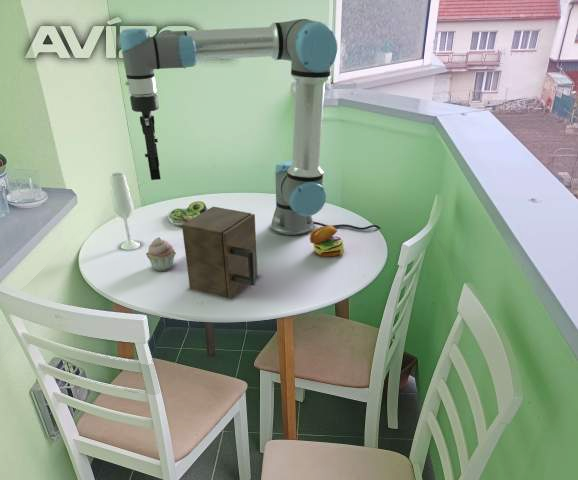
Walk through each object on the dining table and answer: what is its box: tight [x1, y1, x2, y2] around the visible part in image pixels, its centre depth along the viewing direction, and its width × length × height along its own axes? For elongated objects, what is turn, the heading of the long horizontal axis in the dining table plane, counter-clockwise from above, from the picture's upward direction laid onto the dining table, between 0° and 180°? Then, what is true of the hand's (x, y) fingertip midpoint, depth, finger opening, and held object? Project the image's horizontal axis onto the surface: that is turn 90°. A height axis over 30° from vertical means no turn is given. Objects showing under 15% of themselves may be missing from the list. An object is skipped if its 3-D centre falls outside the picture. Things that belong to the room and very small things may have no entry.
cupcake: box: [145, 236, 177, 272], centre depth 179 cm, size 9×9×10 cm
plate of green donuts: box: [167, 200, 210, 228], centre depth 212 cm, size 19×18×5 cm
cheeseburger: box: [309, 224, 345, 258], centre depth 188 cm, size 10×11×10 cm
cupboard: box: [181, 206, 252, 299], centre depth 167 cm, size 13×16×20 cm
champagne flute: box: [109, 172, 141, 251], centre depth 188 cm, size 7×7×24 cm
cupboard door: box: [223, 213, 258, 300], centre depth 163 cm, size 8×16×20 cm, turn 153°
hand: (155, 172), depth 171 cm, fingers open, 13 cm apart
